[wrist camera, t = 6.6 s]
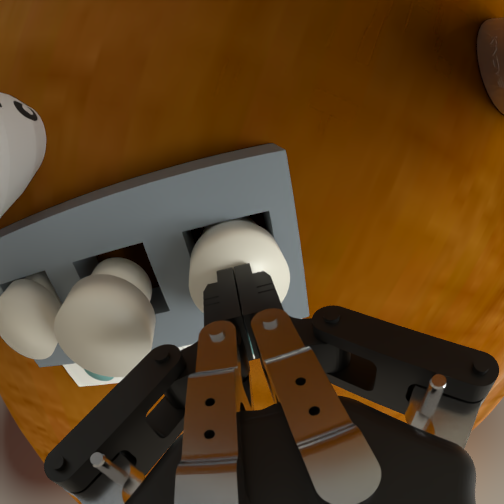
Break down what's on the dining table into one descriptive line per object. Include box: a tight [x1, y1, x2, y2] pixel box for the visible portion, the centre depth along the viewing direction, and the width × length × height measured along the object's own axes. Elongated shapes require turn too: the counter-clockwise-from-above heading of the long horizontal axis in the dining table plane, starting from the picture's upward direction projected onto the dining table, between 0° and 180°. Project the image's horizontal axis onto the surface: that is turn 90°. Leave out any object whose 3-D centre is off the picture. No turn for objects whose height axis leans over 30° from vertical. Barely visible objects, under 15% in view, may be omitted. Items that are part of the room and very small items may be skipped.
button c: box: [0, 271, 62, 360], centre depth 15 cm, size 5×5×5 cm
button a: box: [189, 216, 290, 313], centre depth 16 cm, size 5×5×5 cm
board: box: [0, 143, 309, 367], centre depth 17 cm, size 20×10×3 cm, turn 102°
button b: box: [54, 257, 156, 377], centre depth 14 cm, size 5×5×5 cm
